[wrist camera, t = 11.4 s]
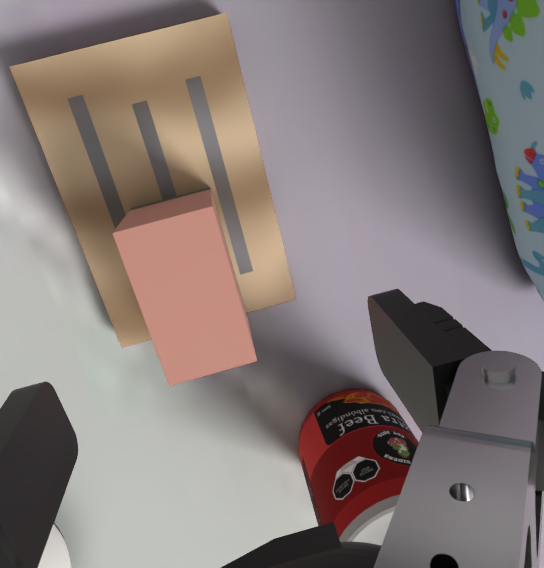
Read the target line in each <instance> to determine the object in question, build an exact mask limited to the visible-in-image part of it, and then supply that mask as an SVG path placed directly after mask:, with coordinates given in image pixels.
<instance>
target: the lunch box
mask: <svg viewBox="0 0 544 568" xmlns="http://www.w3.org/2000/svg"><path fill="white" fill-rule="evenodd" d="M455 3H456V11H457V17H458V21H459V26H460V30H461V35H462V38H463V42H464V45H465V49H466V52H467V56H468V59H469V62H470V65H471V69H472V72H473V76H474V79H475V83H476V86H477V90H478V94H479V97H480V101H481V104H482V108H483V111H484V115H485V119H486V123H487V127H488V132H489V136H490V140H491V145H492V149H493V154H494V160H495V166H496V171H497V174H498V178H499V181H500V184H501V188H502V191H503V195H504V200H505V204H506V209H507V214H508V218H509V222H510V225H511V229H512V233H513V237H514V241H515V244H516V248H517V251H518V254H519V257H520V259H521V261H522V264H523V266H524V268H525V269H526V271H527V273H528V275H529V276H530V278H531V280H532V282H533V283H534V285H535V286H536V289H537V291H538V293H539V294H540V296H541V298H542V299H543V301H544V0H455Z"/></svg>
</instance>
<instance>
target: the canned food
mask: <svg viewBox="0 0 544 568" xmlns="http://www.w3.org/2000/svg"><path fill="white" fill-rule="evenodd" d="M418 444H419V442H418V441H417V439H416V438H415V436H414V435H413V433H412V432H411V430H410V429H409V427H408V426H407V424H406V423H405V421H404V420H403V418H402V417H401V415H400V414H399V412H398V411H397V409H396V408H395V407H394V406H393V405H392V404H391V403H390V402H389V401H388V400H386V399H385V398H383V397H381V396H380V395H378V394H376V393H374V392H371V391H368V390H362V389H351V390H345V391H341V392H337V393H335V394H333V395H330V396H328V397H327V398H325V399H324V400H322V401H321V402H319V403H318V404H317V405H316V406H315V407H314V408H313V409H312V410H311V411H310V413H309V414H308V415H307V417H306V419H305V421H304V422H303V424H302V428H301V431H300V436H299V445H298V451H299V458H300V461H301V465H302V468H303V472H304V476H305V479H306V483H307V486H308V490H309V494H310V497H311V501H312V504H313V508H314V512H315V515H316V519H317V522H318V526H321V525H325V524H328V523H332V522H334V524H335V527H336V530H337V534H338V537H339V540H340V542H351V541H352V542H365V543H371V544H376V545H381V546H382V543H383V540H384V538H385V535H386V532H387V529H388V527H389V524H390V521H391V518H392V516H393V513H394V510H395V507H396V505H397V502H398V499H399V496H400V494H401V491H402V488H403V485H404V483H405V480H406V477H407V474H408V472H409V469H410V466H411V463H412V460H413V458H414V455H415V452H416V449H417V447H418Z"/></svg>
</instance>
